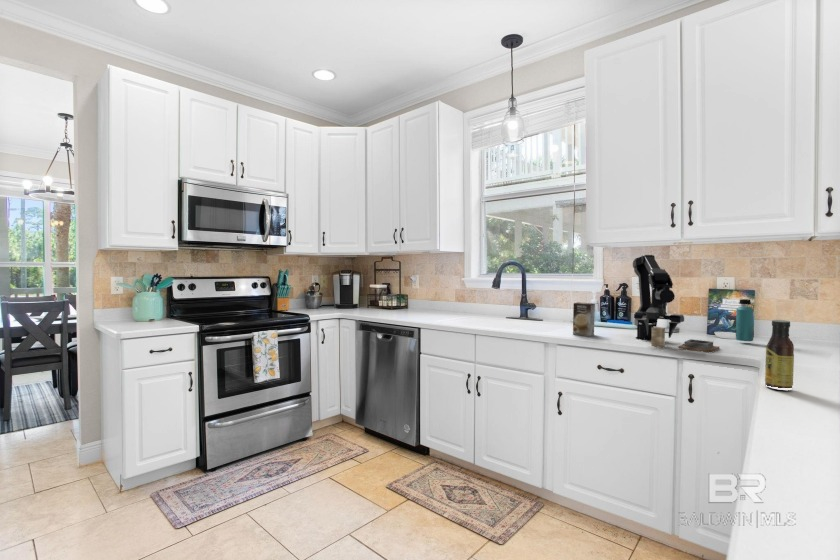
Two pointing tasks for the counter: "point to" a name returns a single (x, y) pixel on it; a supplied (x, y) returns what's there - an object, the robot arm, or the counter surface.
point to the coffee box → (583, 319)
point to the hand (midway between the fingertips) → (658, 336)
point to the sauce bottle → (779, 356)
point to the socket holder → (699, 345)
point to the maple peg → (658, 337)
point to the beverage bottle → (744, 322)
